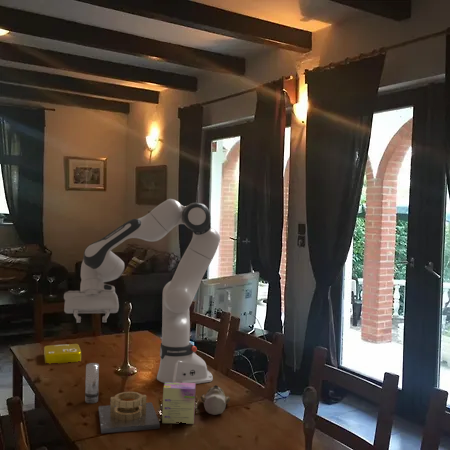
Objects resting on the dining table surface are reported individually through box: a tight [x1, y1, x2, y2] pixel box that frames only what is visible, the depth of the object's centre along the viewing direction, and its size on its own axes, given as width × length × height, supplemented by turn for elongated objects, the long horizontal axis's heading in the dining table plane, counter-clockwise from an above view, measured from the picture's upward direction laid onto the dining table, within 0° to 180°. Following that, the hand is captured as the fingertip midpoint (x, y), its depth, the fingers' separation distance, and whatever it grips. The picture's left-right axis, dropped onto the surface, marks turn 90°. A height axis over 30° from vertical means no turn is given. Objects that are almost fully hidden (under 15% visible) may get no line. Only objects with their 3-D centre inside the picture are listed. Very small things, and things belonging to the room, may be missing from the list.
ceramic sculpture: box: [200, 385, 231, 416], centre depth 186 cm, size 11×9×15 cm
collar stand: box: [98, 391, 161, 434], centre depth 174 cm, size 18×18×8 cm
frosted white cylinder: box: [84, 362, 100, 404], centre depth 189 cm, size 5×5×13 cm
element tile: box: [43, 343, 82, 365], centre depth 237 cm, size 15×15×5 cm
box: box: [161, 382, 196, 425], centre depth 175 cm, size 10×6×12 cm, turn 92°
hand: (91, 321), depth 200 cm, fingers open, 8 cm apart
